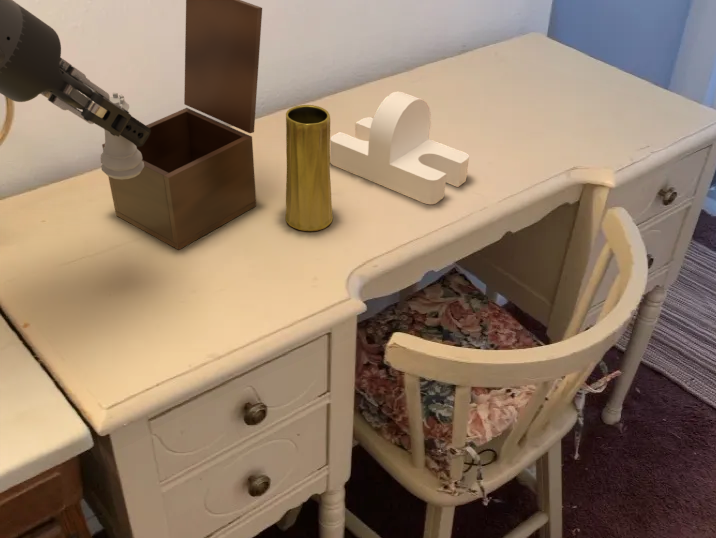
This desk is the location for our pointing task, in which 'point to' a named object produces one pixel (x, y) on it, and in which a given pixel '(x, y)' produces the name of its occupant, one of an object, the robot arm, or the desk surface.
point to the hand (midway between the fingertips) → (134, 130)
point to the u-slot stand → (400, 151)
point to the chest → (188, 179)
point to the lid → (223, 59)
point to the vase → (308, 168)
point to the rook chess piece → (120, 152)
